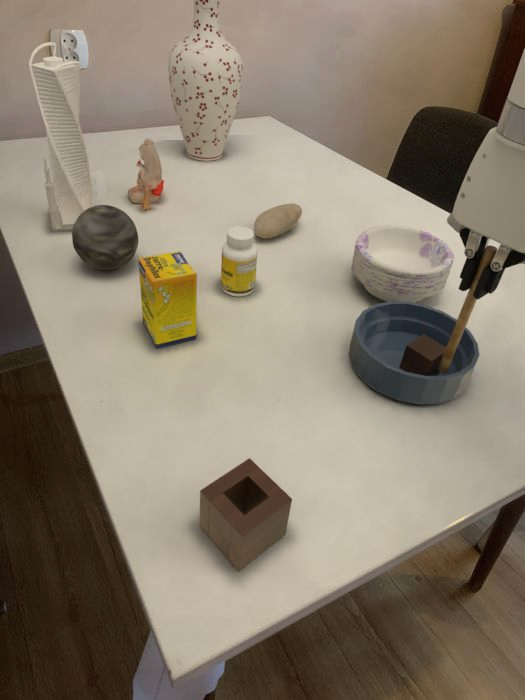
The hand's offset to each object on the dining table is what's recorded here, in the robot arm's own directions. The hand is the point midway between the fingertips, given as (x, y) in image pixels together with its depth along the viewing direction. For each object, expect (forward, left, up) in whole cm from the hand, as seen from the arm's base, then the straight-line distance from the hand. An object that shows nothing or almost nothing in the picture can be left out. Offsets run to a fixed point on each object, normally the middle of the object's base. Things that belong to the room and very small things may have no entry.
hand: (474, 289), depth 62 cm
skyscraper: (+67, +17, -15) cm, 71 cm away
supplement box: (+30, +22, -15) cm, 40 cm away
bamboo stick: (0, 0, -13) cm, 13 cm away
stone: (+43, -11, -15) cm, 47 cm away
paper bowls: (+18, -14, -15) cm, 27 cm away
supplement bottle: (+33, +7, -15) cm, 37 cm away
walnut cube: (+3, 0, -15) cm, 15 cm away
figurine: (+67, +2, -15) cm, 69 cm away
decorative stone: (+50, +20, -15) cm, 56 cm away
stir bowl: (+5, 0, -15) cm, 16 cm away
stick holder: (0, +34, -15) cm, 37 cm away
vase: (+81, -23, -15) cm, 85 cm away
